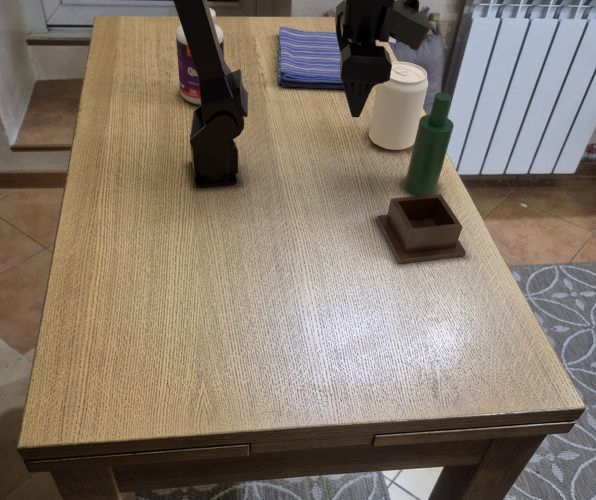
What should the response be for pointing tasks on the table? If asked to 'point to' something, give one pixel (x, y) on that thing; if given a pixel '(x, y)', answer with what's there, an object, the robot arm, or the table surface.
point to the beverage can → (398, 107)
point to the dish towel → (308, 59)
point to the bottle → (430, 148)
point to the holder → (421, 229)
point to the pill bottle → (191, 64)
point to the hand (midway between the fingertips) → (353, 100)
